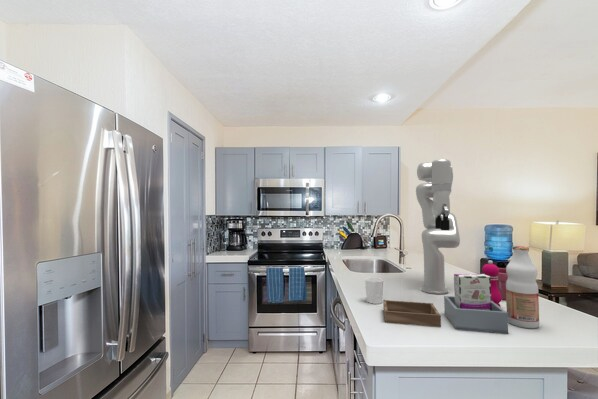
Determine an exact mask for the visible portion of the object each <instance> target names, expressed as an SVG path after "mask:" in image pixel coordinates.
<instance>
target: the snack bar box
mask: <svg viewBox="0 0 598 399" xmlns="http://www.w3.org/2000/svg"><path fill="white" fill-rule="evenodd" d="M490 283H491V282H490V276H487V275H485V274H484V273H453V289H454V297H455V306H456V307H457V308H460V309H474V310H488V311H492V306H491V284H490Z"/></svg>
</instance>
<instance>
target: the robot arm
mask: <svg viewBox="0 0 598 399" xmlns="http://www.w3.org/2000/svg"><path fill="white" fill-rule="evenodd" d="M416 168H417V169H416V175H417V176H416V178H417V179H418V180H419V181H423V182H424V183H420V184H418V185H417V186H416V188H415V195H416V200H417V202H418V204H419V206H420V208H421V214H422V223H423V227H424V228H425V229H424V230H423V231H422V233H421V241H422V242H421V243H422V247H423V248H422V249H423V278H424V279H423V280H424V281H423V284H424V285H423V286H421V287H420V289H421V291H422V292H424V293H427V294H434V295H446V294H448V293H449V289H448V288H446V281H445V280H446V279H445V278H446V276H445V273H446V272H445V255H444V254H443V252H441V250H440V249H444V248H445V249H455V248H458V247H459V246H460V245H461V238H460V232H459V231H460V230H459V227H458V222H457V221H458V220H457V219H456V218H457V217H456V215H455V214H454V212H453V213H452V212H451V205H450V204H451V202H450V195H451V193H452V186H453V181H454V172H453V171H454V170H453V165H452V163H451V161H450V159H444V158H443V159H435V160H433V161H432V162H421V163H419V164H418V165H417V167H416Z"/></svg>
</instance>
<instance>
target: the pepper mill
mask: <svg viewBox="0 0 598 399" xmlns="http://www.w3.org/2000/svg"><path fill="white" fill-rule="evenodd" d="M493 262H494V261H493V260H490V259H489V260H488V261H487V263H485V264H484V265H483V266H482V268H481V270H482V272H483V273H482V274H485V275H487V276H490V282H491V283H490V284H491V301H493V302H494V303H495V304H497V305H498V306H499V307H501V304H500V303H501V302H502V301H503V300H502V298H501V294H500V292H499V290H498V288H497V280H498V276H497V275H498V274H499V268H500V267H498V266H497V265H496V264H493Z"/></svg>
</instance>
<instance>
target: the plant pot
mask: <svg viewBox="0 0 598 399" xmlns="http://www.w3.org/2000/svg"><path fill="white" fill-rule="evenodd" d="M498 268H499V274H498V275H497V276H498V280H497V288H498V290H499V292H500V294H501V298H502V300H501V301H506V281H507V279H508V276H507V273H506V267H498Z"/></svg>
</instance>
